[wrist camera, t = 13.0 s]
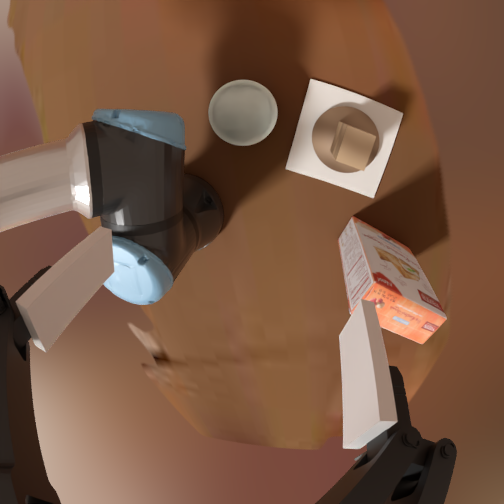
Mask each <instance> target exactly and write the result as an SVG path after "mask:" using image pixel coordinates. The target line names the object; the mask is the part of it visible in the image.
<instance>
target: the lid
mask: <svg viewBox="0 0 504 504" xmlns="http://www.w3.org/2000/svg"><path fill="white" fill-rule="evenodd" d="M312 144H313V148H314V151H315V153H316V155H317V156H318V158H319V159H320V161H321V162H322V163H323V164H324V165H326V166H327V167H329V168H330V169H332V170H334V171H337V172H341V173H354V172H358V171H360V170H362V171H364V170H365V168H366V167H367V166H368V165H369V164H371V162H372V161H373V160H374V158H375V157H376V155H377V152H378V149H379V134H378V130H377V128H376V126H375V124H374V122H373V121H372V119H371V118H370V117H369V116H368V115H366V114H365V113H364V112H362V111H361V110H359V109H356V108H353V107H348V106H339V107H334V108H331V109H329V110H327V111H325V112H324V113H323V114H322V115H321V116H320V117H319V118H318V119H317V120H316V122H315V124H314V127H313V130H312Z"/></svg>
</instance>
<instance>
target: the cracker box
mask: <svg viewBox="0 0 504 504" xmlns="http://www.w3.org/2000/svg"><path fill="white" fill-rule="evenodd" d="M338 244H339V249H340V255H341V260H342V266H343V272H344V278H345V284H346V291H347V297H348V305H349V312H350V314H352V313H353V312H354V310H355V308H356V307H357V305H358V303H359V301H360V299H363V300H367V301H371V302H374V304H375V308H376V312H377V316H378V320H379V324H380V327H382V328H385V329H387V330H389V331H392V332H394V333H397V334H399V335H402V336H404V337H406V338H409V339H411V340H413V341H416V342H418V343H420V344H423V343H424V342H425V341H426V340H427V339H428V338H429V337H430V336H431V335H432V334H433V333H434V332H435V331H436V330H437V329H438V328H439V327H440V326H441V325H442V324H443V322H444V321H445V320H446V319H447V317H446V315H445V313H444V311H443V309H442V307H441V305H440V303H439V301H438V299H437V297H436V295H435V293H434V291H433V289H432V287H431V285H430V284H429V282H428V280H427V278H426V276H425V274H424V272H423V271H422V269H421V267H420V265H419V264H418V262H417V260H416V258H415V257H414V255H413V253H412V252H411V250H410V248H408V247H406V246H405V245H403V244H401V243H400V242H398V241H396V240H395V239H393V238H391V237H390V236H388V235H386V234H384V233H383V232H381V231H379V230H378V229H376V228H374V227H372V226H370V225H369V224H367V223H365V222H363V221H361V220H360V219H358V218H356V217H354V216H352V218H351V219H350V221H349V223H348V224H347V226H346V227H345V229H344V231H343V232H342V234H341V235H340V237H339V239H338Z"/></svg>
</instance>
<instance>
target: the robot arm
mask: <svg viewBox="0 0 504 504" xmlns="http://www.w3.org/2000/svg"><path fill="white" fill-rule="evenodd" d="M92 120H93V121H92V122H86V123H80V124H78V125H77V126H76V128H75V129H74V130H73V131H72V133H71V134H70V135H69V136H68V137H67V138H66V139H63V140H58V141H54V142H49V143H45V144H41V145H37V146H34V147H30V148H26V149H23V150H19V151H16V152H12V153H9V154H6V155H3V156H0V232H2V231H4V230H7V229H10V228H13V227H16V226H19V225H23V224H25V223H29V222H32V221H35V220H39V219H42V218H45V217H49V216H52V215H56V214H59V213H62V212H67V211H70V210H76V211H78V212H80V213H81V214H83V215H84V216H85V217H87V218H93V217H97V216H100V218H101V225H102V227H101V226H100V227H99V228H98V229H96V230H95V231H94V232H93V233H91V234H90V235H89V236H88V237H87V238H85V239H84V240H83V241H82V242H80V243H79V244H78V245H77V246H75V247H74V248H73V249H72V250H71V251H69V252H68V253H67V254H66V255H65V256H64V257H63V258H61V259H60V260H59V261H58V262H57V263H56V264H55V265H53V266H48V267H46V268H44V269H41V270H40V271H39V272H38V273H37V274H36V275H34V277H33V278H31V279H30V280H29V281H28V283H26V284H25V285H24V286H23V287H22V288H21V289H20V290H19V291H18V292H16V293H15V294H14V296H13V297H12V298H11V299H10V300H9V299H8V296H7V293H6V291H5V289H4V287H3V286H1V285H0V504H61V503H60V500H59V497H58V495H57V493H56V491H55V489H54V488H53V487H52V486H51V484H50V482H49V480H48V477H47V473H46V470H45V466H44V462H43V458H42V454H41V450H40V445H39V440H38V434H37V429H36V422H35V416H34V408H33V401H32V400H33V399H32V389H31V375H30V346H29V342H28V340H29V339H30V338H32V339H33V342H34V344H35V345H36V346H37V347H39V348H40V349H42V350H43V351H45V352H47V351H48V350H49V349H50V347H51V346H52V345H53V343H54V342H55V341H56V339H57V338H58V337H59V336H60V334H61V333H62V332H63V331H64V329H65V328H66V327H67V326H68V324H69V323H70V322H71V321H72V319H73V318H74V317H75V316H76V315H77V313H78V312H79V311H80V310H81V309H82V308H83V306H84V305H85V304H86V303H87V302H88V301H89V299H90V298H91V297H92V296H93V295H94V294H95V293H96V291H97V290H98V289H99V288H100V287H101V286H102V285H103V284H104V285H105V286H106V288H108V289H109V290H110V291H111V292H112V293H114V294H115V295H116V296H118V297H120V298H122V299H124V300H125V301H128V302H131V303H134V304H139V305H148V304H152V303H154V302H157V301H158V300H160V299H161V298H162V297H163V296H164V295H165V293H166V292H167V291H168V290H170V289H171V287H172V286H173V282H174V281H175V279H176V278H177V276H178V275H179V273H180V272H181V270H182V269H183V267H184V266H185V264H186V263H187V261H188V260H189V258H190V257H191V255H192V254H193V252H195V251H197V250H200V249H202V248H204V247H206V246H208V245H209V244H210V243H211V242H212V241H213V240H214V239H215V238H216V236H217V234H218V233H219V231H220V229H221V227H222V224H223V218H224V212H223V206H222V203H221V200H220V198H219V196H218V194H217V193H216V191H215V190H214V189H213V188H212V186H211V185H209V184H208V183H207V182H206V181H204V180H203V179H201V178H199V177H197V176H194V175H190V174H184V158H185V150H186V146H185V125H184V121H183V119H182V118H181V117H180V116H179V115H178V114H176V113H171V112H161V111H148V110H129V109H96V110H95V111H94V114H93V116H92ZM339 341H340V355H341V371H342V393H343V448H349V449H350V448H351V449H360V448H361V447H363V446H364V445H366V444H367V451H366V452H364V453H363V454H361V455H359V456H358V457H356V458H355V460H357V462H356V463H355V464H354V465H353V466H352V467H351V468H350V470H349V471H348V472H347V473H346V474H345V475H344V476H343V477H342V478H341V479H340V480H339V481H338V482H337V483H336V484H335V485H334V486H333V487H332V488H331V489H330V490H329V491H328V492H327V493H326V494H325V495H324V496H323V497H322V498H321V499H320V500H319V501H318V502H317V503H315V504H444V502H445V498H446V495H447V492H448V488H449V485H450V481H451V477H452V473H453V469H454V465H455V460H456V454H457V450H456V446H455V444H454V443H453V442H452V441H451V440H450V439H447V438H443V439H441V440H439V441H438V442H436V443H434V442H432V441H429V440H426V439H423V438H422V437H421V435H420V433H419V432H418V430H417V429H416V428H414V427H412V426H411V421H410V415H409V409H408V403H407V397H406V396H405V395H406V392H405V388H404V382H403V377H402V375H401V373H400V371H399V370H398V368H397V367H395V366H389V365H388V360H387V355H386V350H385V346H384V341H383V337H382V332H381V328H380V324H379V320H378V316H377V312H376V308H375V304H374V302H371V301H367V300H363V299H360V301H359V303H358V305H357V307H356V308H355V310H354V312H353V313H352V315H351V317H350V319H349V320H348V322H347V324H346V325H345V327H344V329H343V330H342V332H341V334H340V335H339Z"/></svg>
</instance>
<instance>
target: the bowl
mask: <svg viewBox="0 0 504 504" xmlns="http://www.w3.org/2000/svg"><path fill="white" fill-rule="evenodd" d="M208 115H209V121H210V124H211V126H212V128H213V130H214V131H215V133H216V134H217V135H218V136H219V137H220V138H221V139H223V140H224V141H226V142H228V143H230V144H233V145H238V146H248V145H252V144H255V143H258V142H260V141H261V140H263V139H264V138H266V137H267V136H268V135H269V134H270V133H271V131H272V130H273V128H274V126H275V124H276V121H277V117H278V109H277V104H276V101H275V99H274V97H273V95H272V94H271V92H270V91H269V90H268V89H267V88H265V87H264V86H263V85H261V84H259V83H257V82H254V81H251V80H235V81H231V82H229V83H227V84H225V85H223V86H222V87H221V88H219V89H218V90H217V92H216V93H215V94H214V96H213V97H212V99H211V102H210V105H209V111H208Z"/></svg>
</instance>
